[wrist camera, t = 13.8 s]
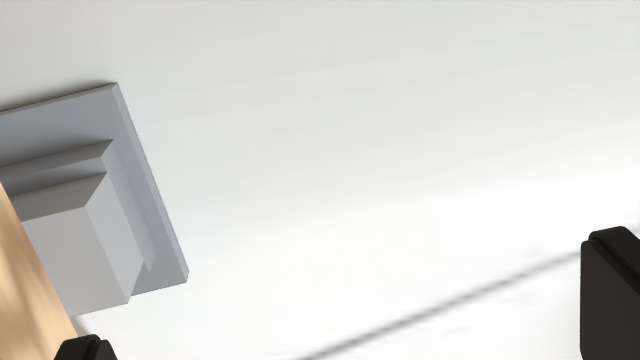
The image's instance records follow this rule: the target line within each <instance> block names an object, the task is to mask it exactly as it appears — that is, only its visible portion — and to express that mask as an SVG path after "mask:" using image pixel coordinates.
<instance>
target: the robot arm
mask: <svg viewBox="0 0 640 360" xmlns="http://www.w3.org/2000/svg"><path fill="white" fill-rule="evenodd" d="M580 351H581V355H582V358H583V360H640V239H638V238H637V237H636V236H635V235H634V234H633V233H632V232H630V231H629V230H628V229H627V228H625V227H624V226H618V227H613V228H608V229H603V230H598V231H593V232H592V233H590V235H589V238H588V240H587V241H584V242H582V244H581V276H580ZM54 360H117V357H116V355H115V353H114V351H113V349H112V347H111V344H110V343H109V341H107V340H100V338H99V337H98V336H97V335H95V334H92V335H87V336H82V337H77V338H72V339H67V340H65V341H63V342H62V344H61V345H60V347H59V349H58V351H57V354H56V356H55V358H54Z"/></svg>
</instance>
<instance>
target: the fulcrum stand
mask: <svg viewBox="0 0 640 360" xmlns="http://www.w3.org/2000/svg"><path fill="white" fill-rule="evenodd" d="M0 182H1V184H2V186H3V188H4V190H5V192H6V194H7V196H8V198H9V200H10V202H11V204H12V206H13V208H14V210H15V212H16V214H17V216H18V218H19V220H20V222H21V224H22V226H23V228H24V230H25V232H26V234H27V236H28V238H29V240H30V242H31V244H32V246H33V248H34V250H35V252H36V254H37V256H38V258H39V260H40V262H41V264H42V266H43V268H44V270H45V272H46V274H47V276H48V278H49V280H50V282H51V284H52V286H53V288H54V290H55V292H56V294H57V296H58V298H59V300H60V302H61V304H62V306H63V307H64V309H65V311H66V313H67V315H68V317H69V318H70V317H74V316H79V315H83V314H87V313H91V312H95V311H99V310H103V309H107V308H111V307H115V306H119V305H123V304H127V303H128V301H129V299H130V296H134V295H138V294H142V293H146V292H150V291H154V290H158V289H162V288H166V287H170V286H174V285H178V284H182V283H186V282H187V278H188V273H189V269H188V267H187V264H186V261H185V259H184V256H183V254H182V251H181V248H180V246H179V243H178V240H177V238H176V235H175V233H174V230H173V227H172V225H171V222H170V219H169V217H168V214H167V212H166V209H165V206H164V204H163V201H162V198H161V196H160V193H159V191H158V188H157V185H156V183H155V180H154V177H153V175H152V172H151V170H150V167H149V164H148V162H147V159H146V156H145V154H144V151H143V149H142V146H141V143H140V141H139V138H138V135H137V133H136V130H135V128H134V125H133V122H132V120H131V117H130V114H129V112H128V109H127V107H126V104H125V101H124V99H123V96H122V93H121V91H120V88H119V86H118V83H114V84H110V85H106V86H102V87H98V88H94V89H90V90H86V91H82V92H78V93H74V94H70V95H66V96H62V97H58V98H54V99H50V100H46V101H42V102H38V103H34V104H30V105H26V106H22V107H18V108H14V109H10V110H6V111H2V112H0Z"/></svg>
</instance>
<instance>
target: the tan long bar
mask: <svg viewBox="0 0 640 360" xmlns="http://www.w3.org/2000/svg"><path fill="white" fill-rule="evenodd" d="M77 337H78V335H77V333H76V332H75V329H74V327H73V325H72V323H71V321H70V320H69V317H68V315H67V313H66V311H65V309H64V307H63V306H62V304H61V302H60V300H59V298H58V296H57V294H56V292H55V290H54V288H53V286H52V284H51V282H50V280H49V278H48V276H47V274H46V272H45V270H44V268H43V266H42V264H41V262H40V260H39V258H38V256H37V254H36V252H35V250H34V248H33V246H32V244H31V242H30V240H29V238H28V236H27V234H26V232H25V230H24V228H23V226H22V224H21V222H20V220H19V218H18V216H17V214H16V212H15V210H14V208H13V206H12V204H11V202H10V200H9V198H8V196H7V194H6V192H5V190H4V188H3V186H2V184H1V182H0V360H54V358H55V356H56V354H57V351H58V349H59V347H60V345H61V344H62V342H63V341H65V340H67V339H72V338H77Z"/></svg>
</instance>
